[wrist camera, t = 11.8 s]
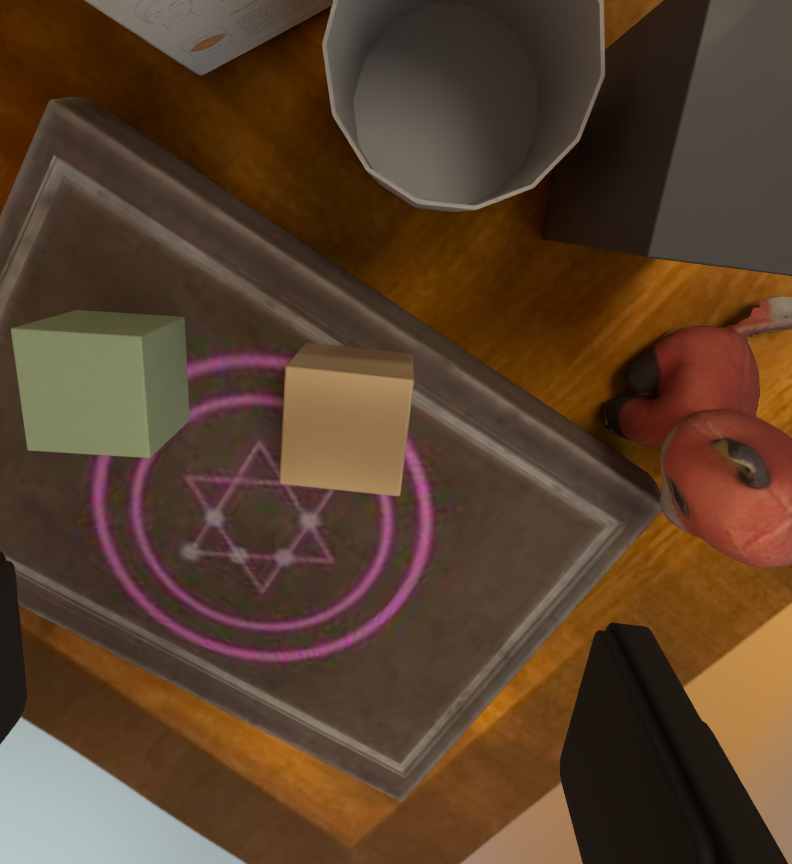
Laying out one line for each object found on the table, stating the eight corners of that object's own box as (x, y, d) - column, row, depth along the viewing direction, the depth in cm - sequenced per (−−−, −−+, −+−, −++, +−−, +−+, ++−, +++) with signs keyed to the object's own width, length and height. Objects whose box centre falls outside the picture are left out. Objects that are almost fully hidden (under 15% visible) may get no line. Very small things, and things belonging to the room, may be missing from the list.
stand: (571, 78, 28) (720, -50, 14) (701, 95, 28) (968, -16, 14) (540, 239, 30) (646, 257, 17) (661, 254, 30) (861, 284, 17)
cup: (577, 78, 28) (665, 6, 18) (473, 246, 30) (503, 259, 20) (413, -40, 26) (416, -183, 17) (318, 145, 29) (273, 110, 19)
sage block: (75, 309, 26) (9, 328, 22) (185, 316, 26) (141, 336, 22) (86, 414, 28) (26, 451, 23) (190, 421, 28) (149, 458, 23)
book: (-61, 485, 35) (-134, 528, 30) (112, 107, 28) (53, 86, 24) (402, 734, 40) (401, 804, 35) (635, 459, 33) (673, 499, 29)
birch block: (305, 341, 27) (285, 365, 22) (413, 353, 27) (414, 379, 22) (299, 443, 28) (278, 484, 24) (401, 454, 28) (400, 497, 24)
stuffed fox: (835, 329, 31) (1083, 395, 20) (679, 500, 34) (814, 643, 23) (721, 239, 30) (914, 254, 18) (569, 426, 33) (654, 537, 21)
